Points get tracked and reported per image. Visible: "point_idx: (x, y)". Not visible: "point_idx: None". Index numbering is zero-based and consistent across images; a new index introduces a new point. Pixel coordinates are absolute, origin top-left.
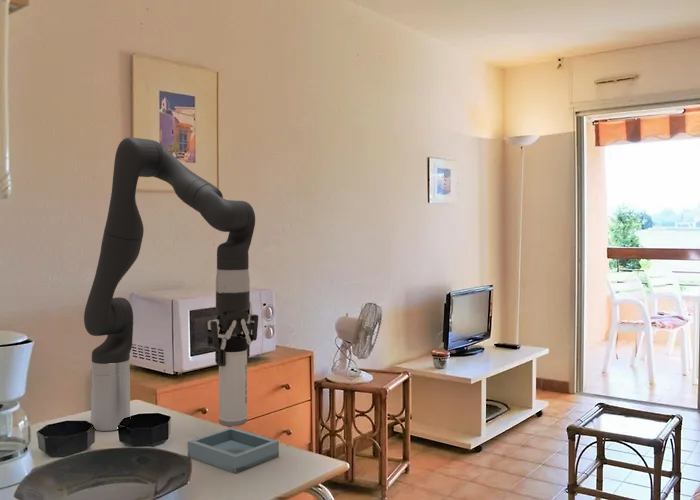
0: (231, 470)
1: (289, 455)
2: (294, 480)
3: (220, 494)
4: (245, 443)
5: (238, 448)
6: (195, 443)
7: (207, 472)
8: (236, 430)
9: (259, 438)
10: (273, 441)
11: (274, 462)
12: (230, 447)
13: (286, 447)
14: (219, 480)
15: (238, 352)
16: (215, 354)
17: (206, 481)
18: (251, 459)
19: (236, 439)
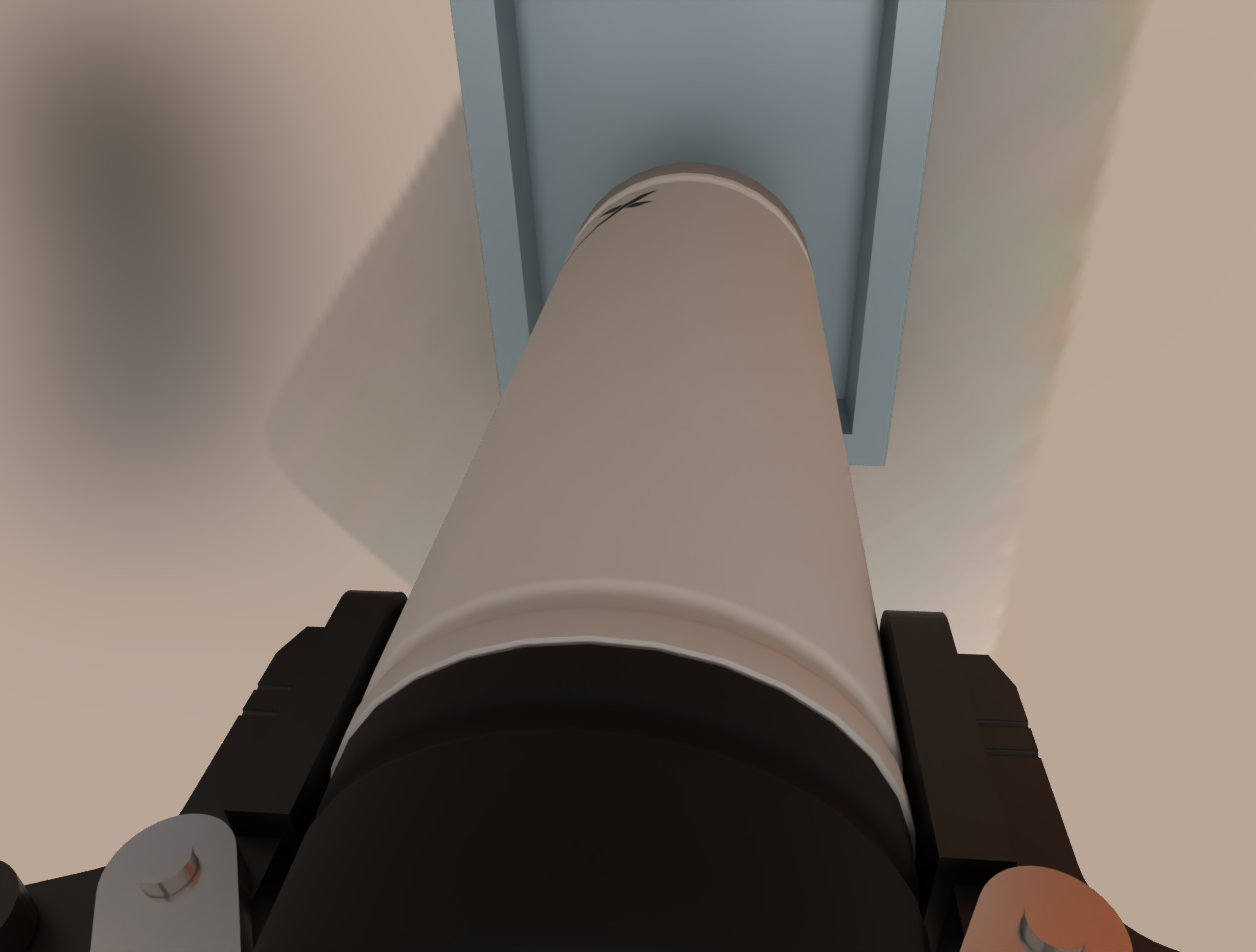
0: None
1: (922, 449)
2: None
3: (334, 521)
4: (869, 156)
5: (770, 182)
6: (459, 43)
7: (423, 282)
8: (906, 41)
9: (863, 326)
10: (859, 445)
11: None
12: (749, 119)
13: (1039, 348)
14: (414, 411)
15: None
16: (223, 746)
17: (356, 372)
18: None
19: (882, 46)
